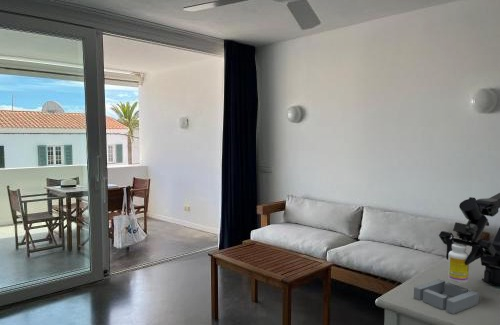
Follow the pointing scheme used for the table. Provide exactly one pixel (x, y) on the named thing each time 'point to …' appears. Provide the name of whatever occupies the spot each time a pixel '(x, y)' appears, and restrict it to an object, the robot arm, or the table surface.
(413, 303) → the table surface
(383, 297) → the table surface
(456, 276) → the supplement bottle
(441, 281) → the cup holder
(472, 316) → the table surface
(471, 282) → the table surface
